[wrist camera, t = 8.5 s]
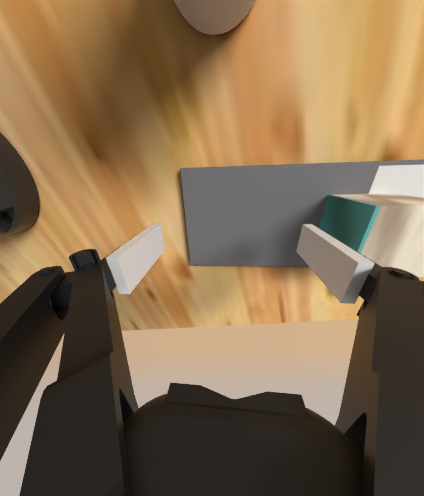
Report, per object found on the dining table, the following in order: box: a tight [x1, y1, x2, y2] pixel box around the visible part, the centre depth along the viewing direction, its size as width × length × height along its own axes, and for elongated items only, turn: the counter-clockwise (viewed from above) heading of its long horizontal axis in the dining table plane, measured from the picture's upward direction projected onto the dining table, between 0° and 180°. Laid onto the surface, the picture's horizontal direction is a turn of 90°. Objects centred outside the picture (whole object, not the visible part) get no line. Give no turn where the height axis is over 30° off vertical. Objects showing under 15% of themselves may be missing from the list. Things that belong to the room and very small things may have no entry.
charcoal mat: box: [180, 160, 424, 267], centre depth 18 cm, size 30×12×1 cm, turn 91°
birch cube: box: [319, 193, 424, 277], centre depth 15 cm, size 6×6×6 cm
